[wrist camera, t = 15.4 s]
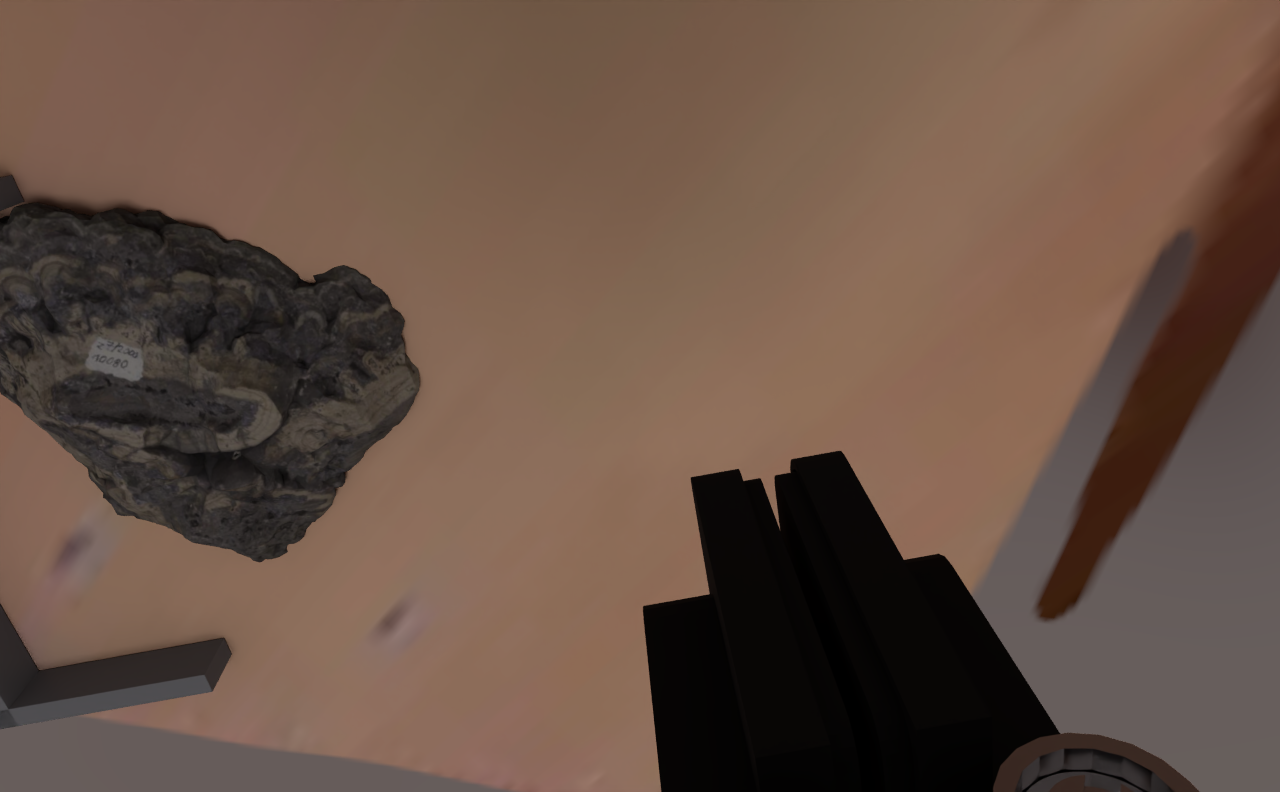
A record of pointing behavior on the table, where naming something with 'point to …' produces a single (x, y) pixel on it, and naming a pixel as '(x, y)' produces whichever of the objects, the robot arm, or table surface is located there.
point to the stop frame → (20, 694)
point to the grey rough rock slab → (196, 370)
